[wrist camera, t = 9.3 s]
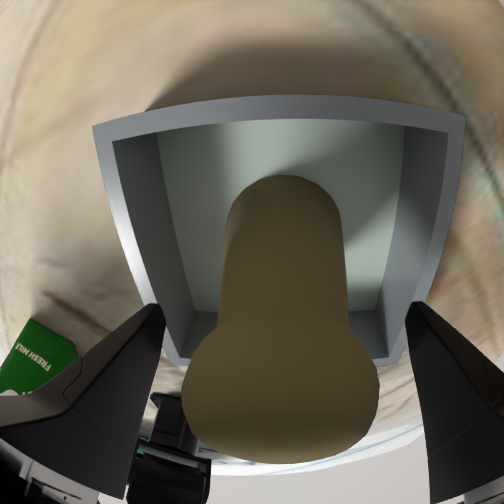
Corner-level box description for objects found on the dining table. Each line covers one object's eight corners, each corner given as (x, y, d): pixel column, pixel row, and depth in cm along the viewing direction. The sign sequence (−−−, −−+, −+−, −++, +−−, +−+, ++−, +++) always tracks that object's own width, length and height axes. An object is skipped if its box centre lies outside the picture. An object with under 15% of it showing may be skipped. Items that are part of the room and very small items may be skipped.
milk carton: (40, 350, 28) (-15, 459, 11) (22, 309, 23) (-53, 437, 6) (89, 377, 29) (40, 500, 12) (78, 340, 24) (8, 494, 7)
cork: (357, 192, 13) (461, 403, 4) (320, 285, 16) (337, 477, 7) (236, 162, 13) (127, 370, 3) (219, 264, 16) (161, 456, 7)
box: (381, 312, 18) (396, 363, 14) (188, 313, 19) (171, 364, 15) (414, 104, 10) (465, 115, 7) (143, 112, 12) (91, 126, 8)
